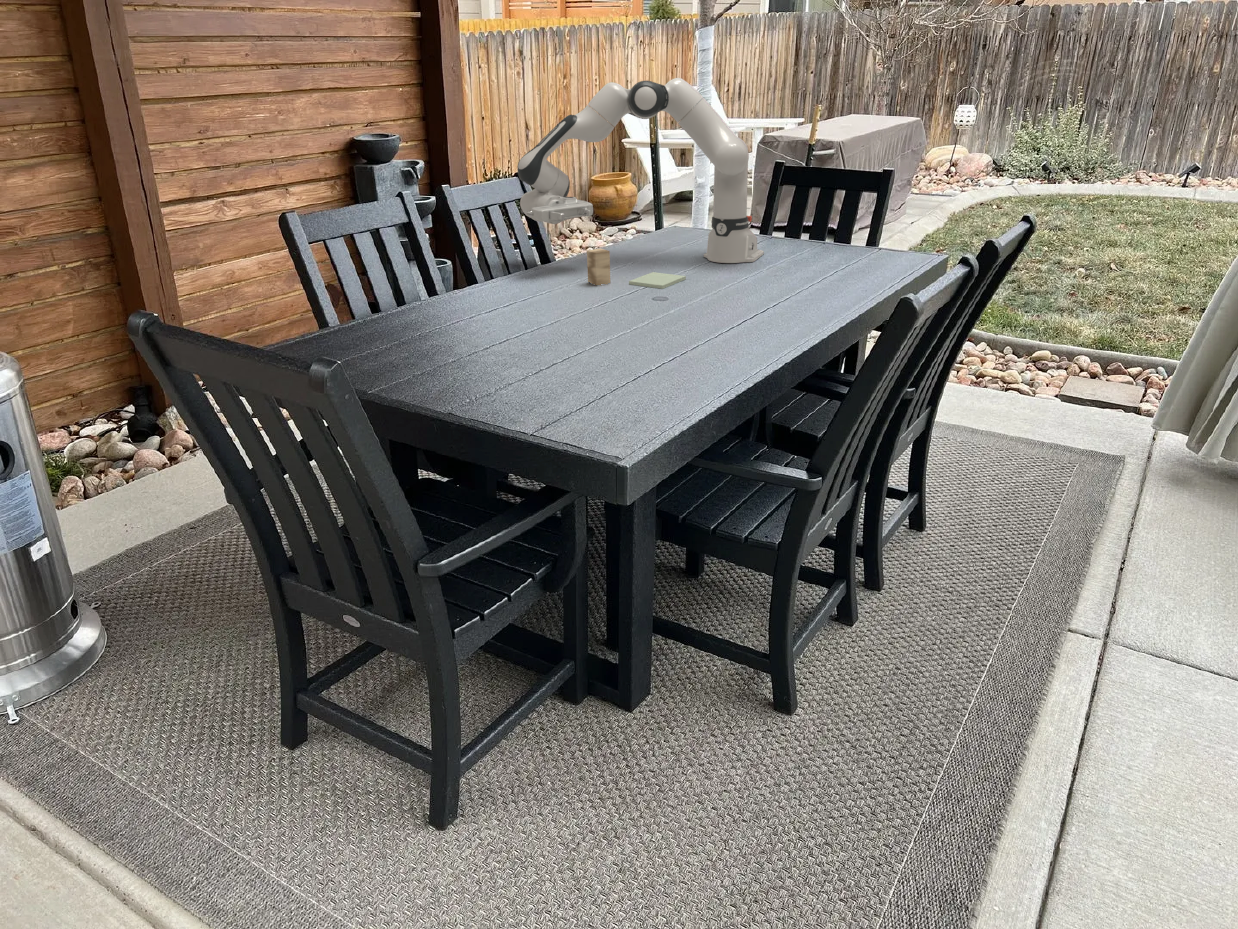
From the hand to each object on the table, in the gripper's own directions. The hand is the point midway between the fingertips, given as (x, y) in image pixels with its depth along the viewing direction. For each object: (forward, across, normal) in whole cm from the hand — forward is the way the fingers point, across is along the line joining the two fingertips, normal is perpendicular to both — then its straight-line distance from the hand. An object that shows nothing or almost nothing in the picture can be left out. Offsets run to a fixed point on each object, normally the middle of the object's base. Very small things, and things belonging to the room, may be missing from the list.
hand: (575, 214), depth 285 cm
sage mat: (+22, +15, +19) cm, 33 cm away
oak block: (+12, 0, +19) cm, 23 cm away
